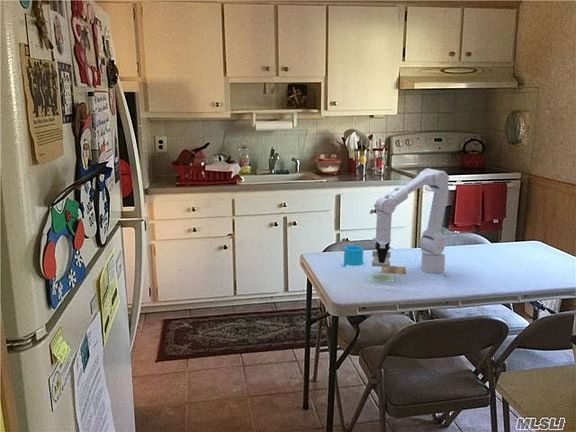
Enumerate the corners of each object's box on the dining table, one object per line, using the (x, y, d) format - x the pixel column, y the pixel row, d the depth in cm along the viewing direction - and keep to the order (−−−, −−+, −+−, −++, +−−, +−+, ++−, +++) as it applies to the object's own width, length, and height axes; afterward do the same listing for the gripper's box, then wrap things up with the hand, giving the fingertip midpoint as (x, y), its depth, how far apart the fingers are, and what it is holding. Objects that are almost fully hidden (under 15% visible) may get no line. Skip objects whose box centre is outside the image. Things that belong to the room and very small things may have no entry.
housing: (389, 264, 208) (390, 251, 207) (389, 267, 204) (390, 254, 203) (372, 263, 209) (372, 250, 208) (371, 266, 205) (372, 253, 204)
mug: (364, 268, 224) (365, 250, 222) (346, 269, 222) (347, 251, 220) (356, 260, 235) (357, 243, 233) (339, 261, 234) (339, 243, 232)
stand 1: (393, 277, 212) (393, 274, 212) (393, 285, 202) (393, 282, 202) (368, 275, 214) (368, 272, 213) (367, 283, 204) (367, 280, 204)
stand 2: (405, 270, 222) (405, 266, 221) (405, 277, 212) (405, 274, 212) (381, 268, 223) (381, 265, 223) (381, 275, 214) (381, 272, 213)
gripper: (373, 223, 211) (372, 255, 214) (372, 231, 197) (371, 265, 200) (391, 224, 210) (389, 256, 213) (391, 232, 196) (389, 267, 199)
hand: (381, 261), depth 206 cm, fingers closed on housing, 4 cm apart
